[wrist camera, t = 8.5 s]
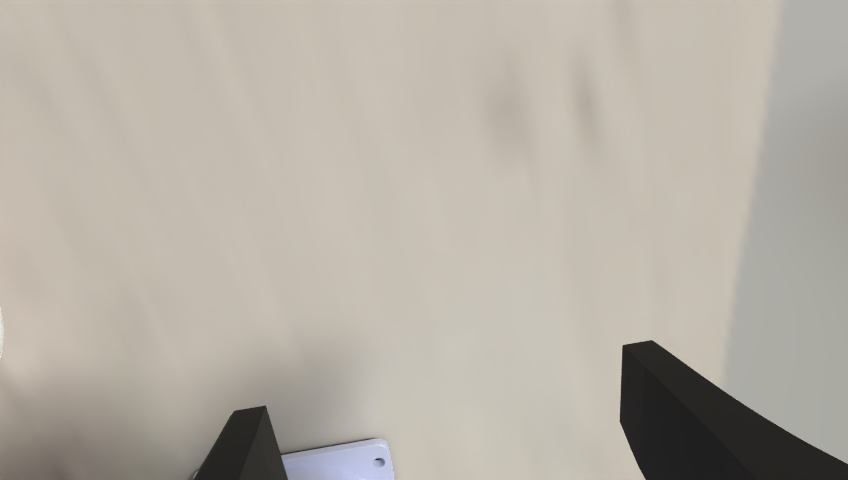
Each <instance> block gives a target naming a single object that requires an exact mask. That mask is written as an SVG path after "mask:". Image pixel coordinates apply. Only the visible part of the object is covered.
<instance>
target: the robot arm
mask: <svg viewBox="0 0 848 480" xmlns="http://www.w3.org/2000/svg"><path fill="white" fill-rule="evenodd" d="M620 423H621V425H622V428H623V430H624V433H625V435H626V438H627V440H628V443H629V445H630V448H631V450H632V452H633V455H634V457H635V459H636V462H637V464H638V466H639V468H640V470H641V472H642V474H643V475H644V477H645V479H646V480H848V464H847V463H844V462H843V461H841V460H838V459H837V458H835V457H833V456H831V455H829V454H827V453H825V452H823V451H822V450H820V449H818V448H816V447H814V446H812V445H810V444H808V443H807V442H805V441H803V440H801V439H799V438H797V437H796V436H794V435H792V434H791V433H789V432H787V431H785V430H784V429H782V428H781V427H779V426H777V425H776V424H774V423H772V422H771V421H769V420H767V419H766V418H764V417H762V416H761V415H759V414H758V413H756V412H754V411H753V410H751V409H750V408H748V407H747V406H745V405H744V404H742V403H741V402H739V401H738V400H736V399H734V398H733V397H732V396H730V395H728V394H727V393H726V392H724V391H723V390H721V389H720V388H718V387H717V386H716V385H714V384H713V383H711V382H710V381H708V380H707V379H705V378H704V377H703V376H701V375H700V374H698V373H697V372H696V371H694V370H693V369H691V368H690V367H689V366H687V365H686V364H685V363H683V362H682V361H680V360H679V359H678V358H676V357H675V356H674V355H672V354H671V353H669V352H668V351H667V350H665V349H664V348H662V347H661V346H660V345H658V344H657V343H655V342H654V341H652V340H650V341H644V342H639V343H633V344H627V345H623V349H622V376H621V403H620ZM377 458H382V459H381V460H375V459H377ZM193 480H395V476H394V471H393V466H392V461H391V456H390V450H389V445H388V443H387V442H386V441H385V440H382V439H371V440H365V441H359V442H353V443H348V444H342V445H336V446H331V447H325V448H319V449H313V450H308V451H302V452H296V453H291V454H285V455H281V454H280V451H279V448H278V444H277V441H276V438H275V434H274V431H273V428H272V425H271V421H270V418H269V415H268V411H267V408H266V406H260V407H255V408H249V409H243V410H237V411H234V412H233V414H232V415H231V416H230V418H229V420H228V421H227V423H226V425H225V427H224V428H223V430H222V432H221V434H220V435H219V437H218V439H217V441H216V442H215V444H214V446H213V448H212V449H211V451H210V453H209V454H208V456H207V458H206V459H205V461H204V463H203V464H202V466H201V468H200V469H199V470H198V471H197V472H196V473H195V474H194V476H193Z"/></svg>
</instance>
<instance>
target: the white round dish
mask: <svg viewBox="0 0 848 480" xmlns="http://www.w3.org/2000/svg"><path fill="white" fill-rule="evenodd" d="M4 336H5V332H4V319H3V315H2V311H1V307H0V360H1V356H2V353H3V346H4Z"/></svg>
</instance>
